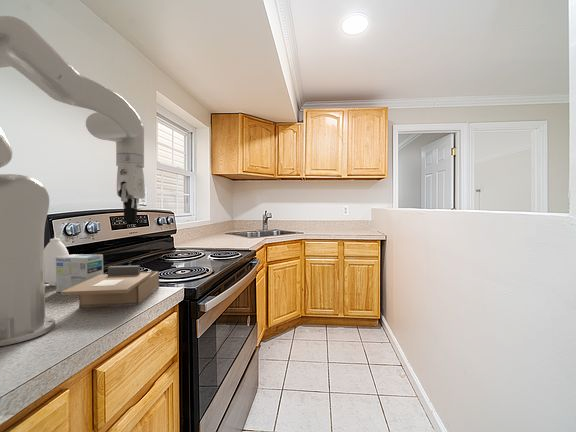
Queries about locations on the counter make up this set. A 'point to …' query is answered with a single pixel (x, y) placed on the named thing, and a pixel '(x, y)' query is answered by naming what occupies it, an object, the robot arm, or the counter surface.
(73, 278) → the light bulb box
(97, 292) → the lid
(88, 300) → the mailer box
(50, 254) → the sauce bottle
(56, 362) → the counter surface
